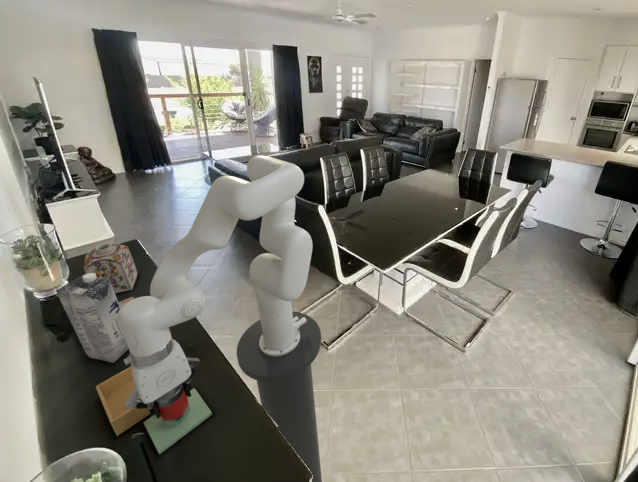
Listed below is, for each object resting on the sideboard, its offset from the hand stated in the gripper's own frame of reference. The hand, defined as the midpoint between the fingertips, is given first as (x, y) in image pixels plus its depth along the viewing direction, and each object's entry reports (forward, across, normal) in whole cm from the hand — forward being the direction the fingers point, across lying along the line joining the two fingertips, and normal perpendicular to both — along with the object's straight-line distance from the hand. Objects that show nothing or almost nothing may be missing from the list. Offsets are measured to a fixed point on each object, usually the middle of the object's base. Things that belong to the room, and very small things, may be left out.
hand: (172, 402), depth 77 cm
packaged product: (+7, -1, +52) cm, 52 cm away
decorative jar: (+6, +5, +73) cm, 73 cm away
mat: (+6, 0, 0) cm, 6 cm away
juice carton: (+7, -5, +37) cm, 38 cm away
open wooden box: (+6, -4, +14) cm, 16 cm away
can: (+4, 0, 0) cm, 4 cm away
